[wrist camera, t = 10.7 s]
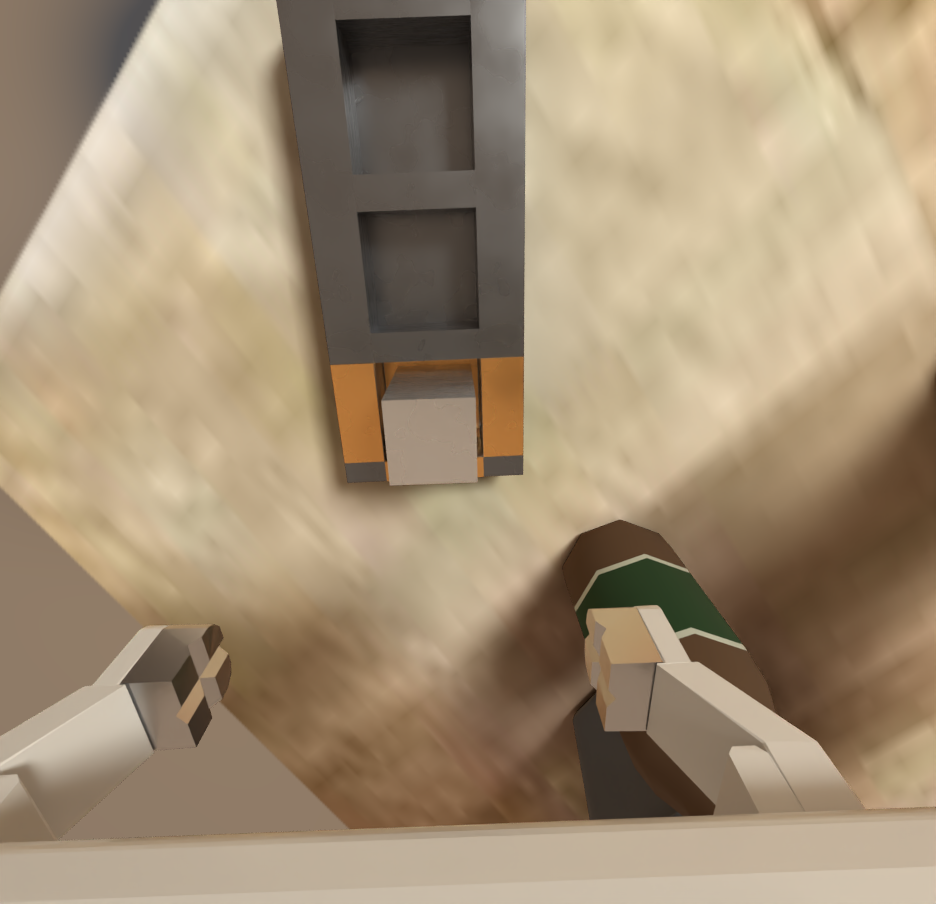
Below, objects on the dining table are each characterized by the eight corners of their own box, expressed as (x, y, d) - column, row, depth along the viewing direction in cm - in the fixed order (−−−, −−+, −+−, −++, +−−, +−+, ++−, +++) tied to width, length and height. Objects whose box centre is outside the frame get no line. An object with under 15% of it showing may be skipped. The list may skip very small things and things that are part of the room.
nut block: (470, 363, 28) (475, 397, 22) (472, 432, 30) (477, 482, 23) (397, 366, 28) (381, 400, 22) (403, 434, 30) (389, 485, 23)
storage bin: (823, 717, 41) (998, 938, 28) (697, 818, 46) (796, 1048, 33) (632, 612, 36) (735, 820, 23) (513, 737, 41) (542, 968, 28)
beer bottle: (563, 516, 33) (792, 1068, 11) (676, 514, 33) (1134, 1052, 11) (556, 608, 36) (722, 1189, 14) (660, 606, 36) (992, 1176, 14)
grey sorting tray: (515, 13, 22) (526, -29, 19) (515, 451, 31) (523, 475, 28) (299, 21, 22) (272, -20, 19) (358, 458, 31) (347, 483, 27)
